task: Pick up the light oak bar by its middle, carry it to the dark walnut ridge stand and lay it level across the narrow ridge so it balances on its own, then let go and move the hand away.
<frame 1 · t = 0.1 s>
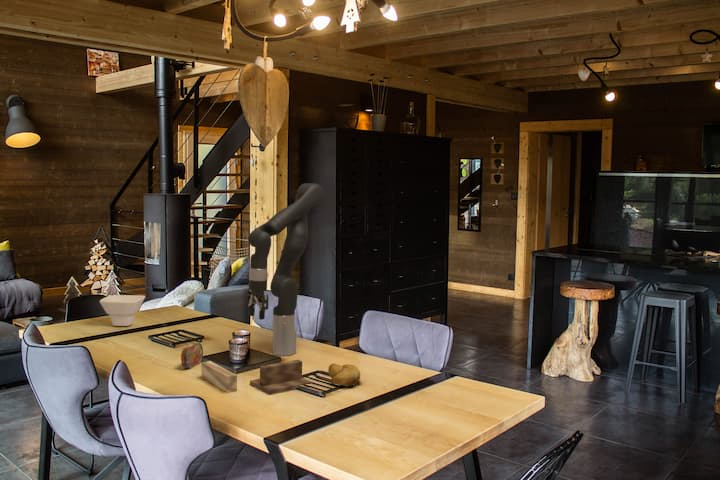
hand: (256, 317, 276), 17 cm above the table, tool pointing down, fingers open, 8 cm apart
ridge stand: (281, 385, 242), on the table
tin: (192, 366, 265), on the table
bread roll: (347, 384, 245), on the table
bowl: (123, 326, 333), on the table
oak bar: (218, 384, 242), on the table
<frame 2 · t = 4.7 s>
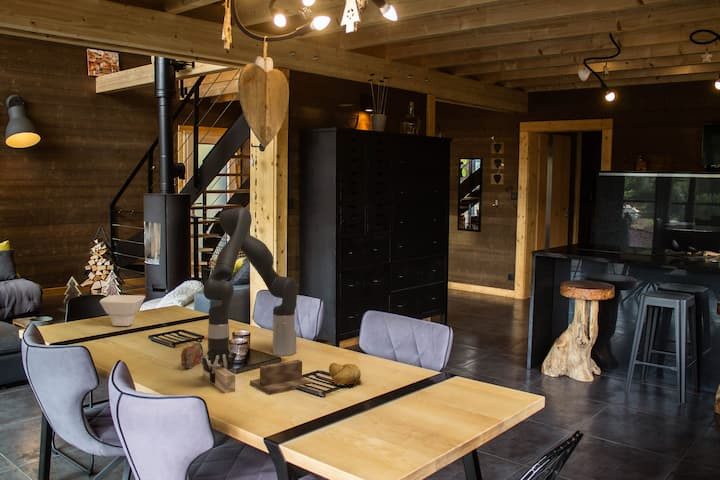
hand: (218, 381, 241), 1 cm above the table, tool pointing down, fingers closed on oak bar, 3 cm apart
oak bar: (218, 384, 241), on the table, touching gripper
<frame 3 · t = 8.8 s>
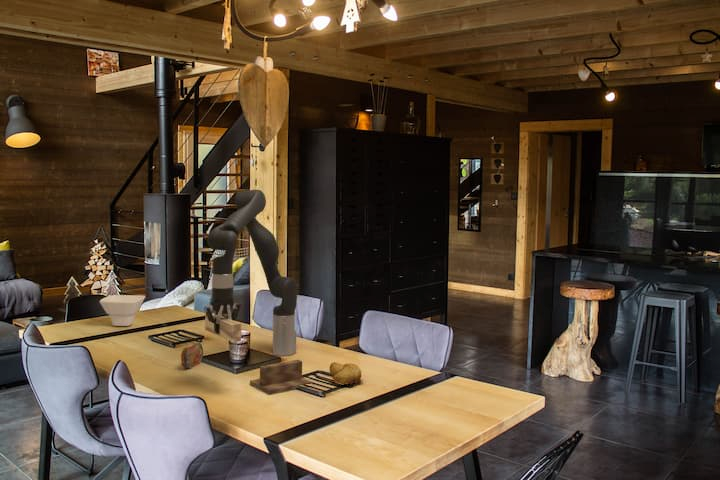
hand: (222, 332, 240), 19 cm above the table, tool pointing down, fingers closed on oak bar, 3 cm apart
oak bar: (222, 335, 240), point 18 cm above the table, touching gripper
when the fingers open (9 cm above the table, at t = 13.2 s): oak bar stays where it is, resting on ridge stand.
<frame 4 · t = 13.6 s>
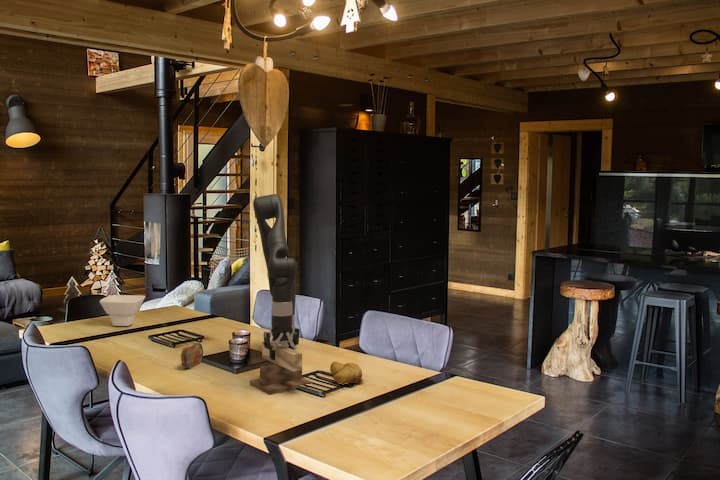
hand: (281, 358, 241), 10 cm above the table, tool pointing down, fingers open, 6 cm apart
oak bar: (281, 363, 241), point 8 cm above the table, touching ridge stand
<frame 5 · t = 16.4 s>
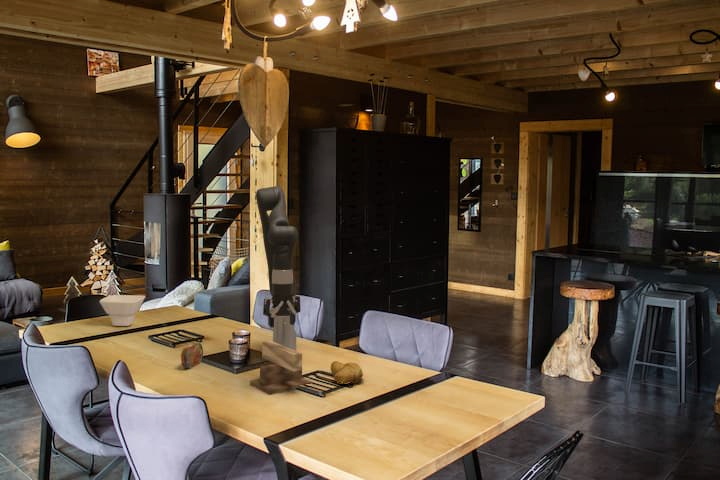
hand: (281, 325, 240), 22 cm above the table, tool pointing down, fingers open, 8 cm apart
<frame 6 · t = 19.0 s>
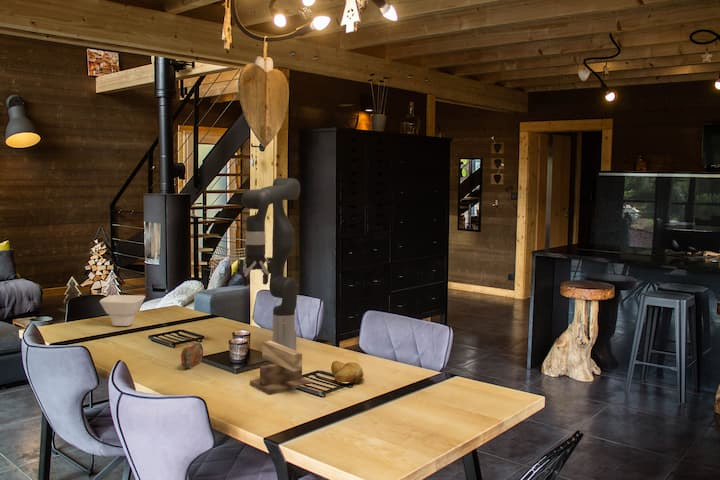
hand: (255, 285, 254), 34 cm above the table, tool pointing down, fingers open, 8 cm apart
at the end: oak bar 0.1 cm off-centre on the ridge stand, point 8.0 cm above the ridge stand's base; oak bar tilted 0°; oak bar touching ridge stand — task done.
